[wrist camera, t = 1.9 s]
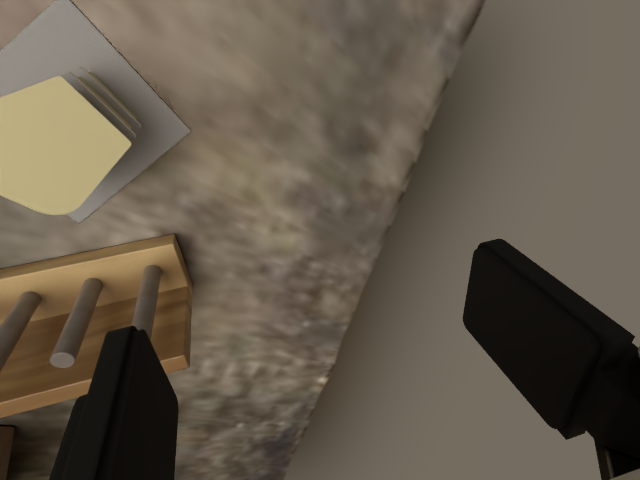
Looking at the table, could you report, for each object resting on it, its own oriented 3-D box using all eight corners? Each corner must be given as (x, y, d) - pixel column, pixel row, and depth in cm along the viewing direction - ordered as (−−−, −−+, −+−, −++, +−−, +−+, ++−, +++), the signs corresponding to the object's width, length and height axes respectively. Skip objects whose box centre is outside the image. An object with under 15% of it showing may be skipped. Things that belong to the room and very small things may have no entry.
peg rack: (-75, 283, 24) (-187, 391, 17) (174, 233, 27) (164, 308, 20) (-30, 336, 27) (-111, 448, 20) (193, 285, 30) (189, 368, 23)
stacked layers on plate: (63, -7, 19) (20, -14, 15) (191, 131, 24) (188, 157, 20) (-70, 115, 20) (-149, 144, 16) (79, 223, 25) (51, 268, 21)
